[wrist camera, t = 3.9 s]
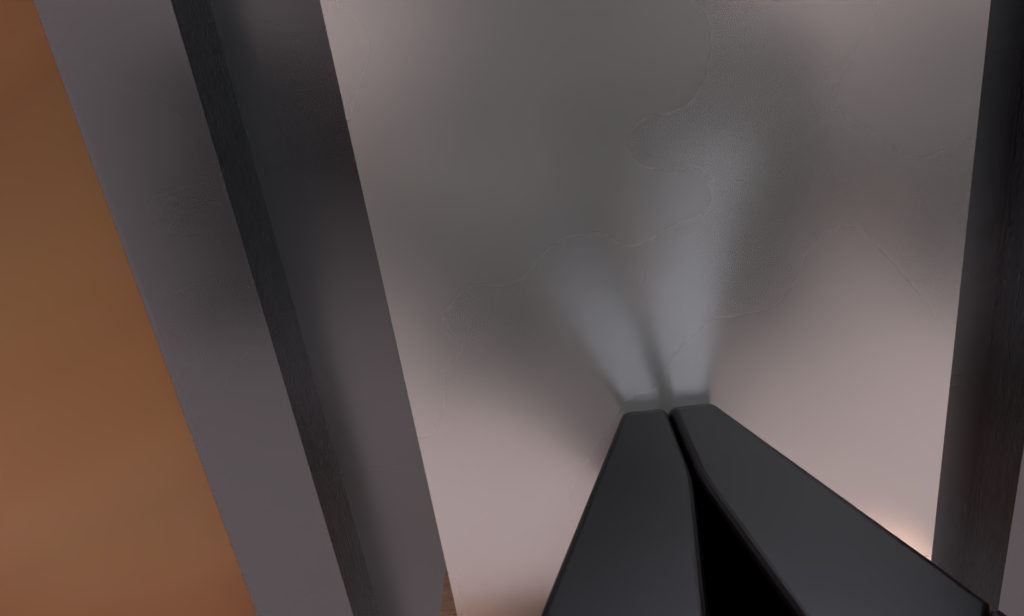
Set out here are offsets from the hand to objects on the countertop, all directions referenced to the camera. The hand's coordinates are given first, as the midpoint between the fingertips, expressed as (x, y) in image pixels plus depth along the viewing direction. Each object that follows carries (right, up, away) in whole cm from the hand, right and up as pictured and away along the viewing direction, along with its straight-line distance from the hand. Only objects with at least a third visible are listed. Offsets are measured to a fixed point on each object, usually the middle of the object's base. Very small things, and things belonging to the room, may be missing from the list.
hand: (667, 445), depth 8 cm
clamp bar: (-1, +6, -2) cm, 7 cm away
